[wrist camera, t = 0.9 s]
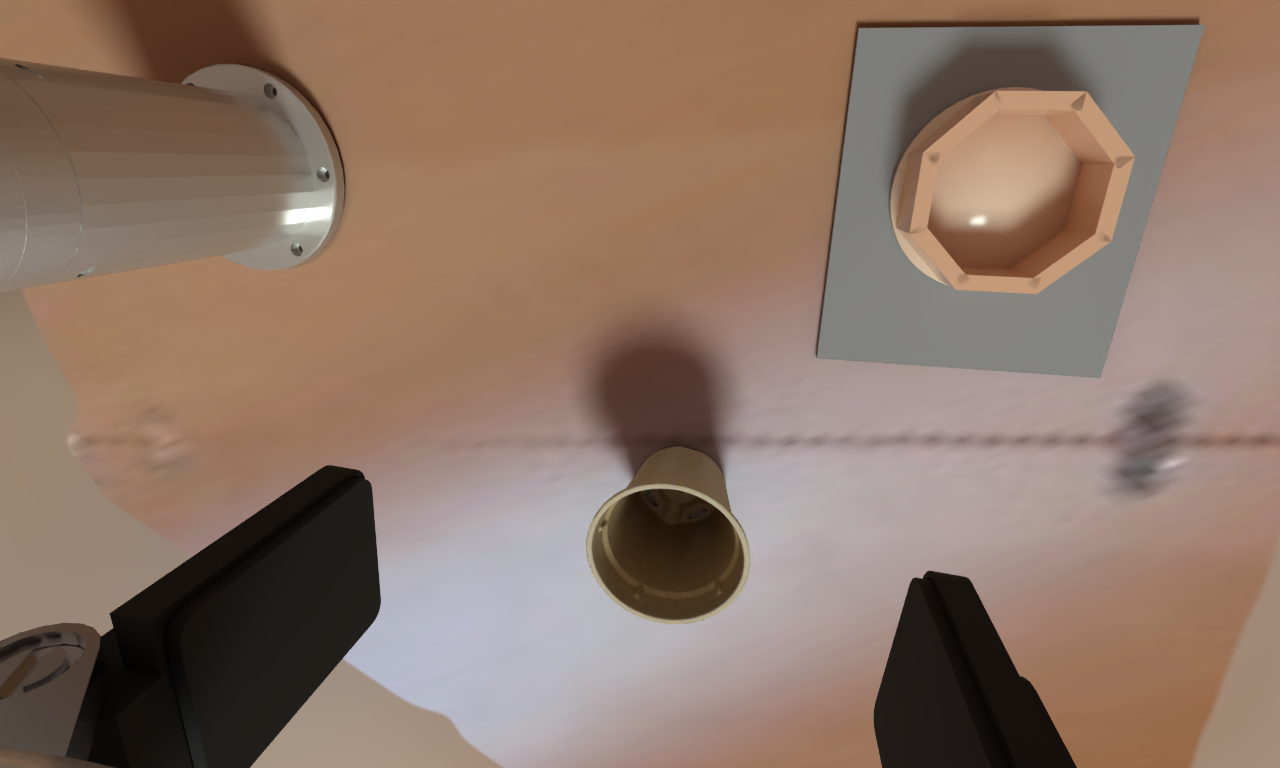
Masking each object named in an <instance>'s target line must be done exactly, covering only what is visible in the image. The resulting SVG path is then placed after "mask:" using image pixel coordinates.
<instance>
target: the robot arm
mask: <svg viewBox="0 0 1280 768" xmlns="http://www.w3.org/2000/svg"><path fill="white" fill-rule="evenodd" d="M344 191H345V188H344V178H343V169H342V165H341V161H340V157H339V153H338V150H337V147H336V145H335V143H334V140H333V138H332V136H331V133H330V131H329V129H328V128H327V126H326V125H325V123H324V121H323V120H322V118H321V117H320V115H319V113H318V112H317V111H316V110H315V108H314V107H313V106H312V105H311V104H310V103H309V101H308V100H307V99H306V98H305V97H304V96H303V95H302V94H301V93H300V92H298V91H297V90H296V89H295V88H294V87H292V86H291V85H290V84H289V83H287V82H286V81H284V80H282V79H280V78H279V77H277V76H275V75H273V74H272V73H269V72H266V71H263V70H260V69H257V68H255V67H249V66H243V65H239V64H215V65H211V66H208V67H204V68H201V69H199V70H197V71H196V72H194V73H192V74H190V75H189V76H187V77H186V78H185V79H184V80H183V81H182V82H181V83H180V84H178V83H171V82H164V81H157V80H150V79H143V78H136V77H129V76H122V75H115V74H109V73H102V72H95V71H88V70H81V69H74V68H67V67H60V66H53V65H46V64H39V63H32V62H26V61H19V60H12V59H5V58H0V292H5V291H10V290H17V289H23V288H28V287H34V286H41V285H47V284H53V283H59V282H65V281H71V280H77V279H83V278H89V277H95V276H101V275H107V274H113V273H119V272H125V271H131V270H136V269H142V268H148V267H154V266H160V265H166V264H172V263H178V262H184V261H190V260H196V259H202V258H208V257H214V256H220V255H222V256H223V257H225V258H227V259H229V260H230V261H232V262H234V263H237V264H240V265H242V266H245V267H248V268H252V269H259V270H281V269H286V268H290V267H295V266H298V265H300V264H302V263H305V262H307V261H310V260H311V259H312V258H314V257H315V256H316V255H318V254H319V253H320V252H322V250H323V249H324V248H325V247H326V246H327V244H328V243H329V242H330V241H331V239H332V237H333V235H334V233H335V231H336V229H337V227H338V225H339V222H340V218H341V215H342V211H343V205H344ZM380 604H381V596H380V584H379V571H378V558H377V546H376V533H375V520H374V508H373V495H372V486H371V483H370V482H369V481H368V480H365V477H364V475H363V473H362V472H361V471H359V470H355V469H349V468H343V467H338V466H332V465H327V466H325V467H323V468H321V469H320V470H318V471H317V472H315V473H314V474H312V475H311V476H310V477H308V478H307V479H305V480H304V481H302V482H301V483H299V484H298V485H296V486H295V487H294V488H292V489H291V490H289V491H288V492H286V493H285V494H283V495H282V496H280V497H279V498H277V499H276V500H275V501H273V502H272V503H270V504H269V505H267V506H266V507H264V508H263V509H261V510H260V511H258V512H257V513H256V514H254V515H253V516H251V517H250V518H248V519H247V520H245V521H244V522H242V523H241V524H240V525H238V526H237V527H235V528H234V529H232V530H231V531H229V532H228V533H226V534H225V535H223V536H222V537H221V538H219V539H218V540H216V541H215V542H213V543H212V544H210V545H209V546H207V547H206V548H205V549H203V550H202V551H200V552H199V553H197V554H196V555H194V556H193V557H191V558H190V559H189V560H187V561H186V562H184V563H183V564H181V565H180V566H178V567H177V568H175V569H174V570H173V571H171V572H170V573H168V574H167V575H165V576H164V577H162V578H161V579H159V580H158V581H156V582H155V583H154V584H152V585H151V586H149V587H148V588H146V589H145V590H143V591H142V592H140V593H139V594H137V595H136V596H135V597H133V598H132V599H130V600H129V601H127V602H126V603H124V604H123V605H121V606H120V607H118V608H117V609H116V610H114V611H113V612H111V613H110V616H111V620H112V624H113V627H114V628H113V629H111V630H110V631H109V632H107V633H106V634H105V635H103V636H102V637H101V636H100V635H99V633H98V632H97V631H96V630H95V629H94V628H93V627H90V626H87V625H84V624H80V623H79V624H78V623H61V624H55V625H48V626H42V627H38V628H35V629H31V630H28V631H25V632H21V633H18V634H16V635H14V636H11V637H9V638H7V639H4V640H2V641H0V768H250V767H251V766H252V764H253V763H254V762H255V761H256V760H257V758H258V757H259V756H260V755H261V754H262V752H263V751H264V750H265V749H266V748H267V747H268V746H269V744H270V743H271V742H272V741H273V740H274V738H275V737H276V736H277V735H278V734H279V733H280V731H281V730H282V729H283V728H284V727H285V726H286V724H287V723H288V722H289V721H290V720H291V718H292V717H293V716H294V715H295V714H296V713H297V711H298V710H299V709H300V708H301V707H302V705H303V704H304V703H305V702H306V701H307V700H308V698H309V697H310V696H311V695H312V694H313V692H314V691H315V690H316V689H317V688H318V687H319V686H320V684H321V683H322V682H323V681H324V680H325V678H326V677H327V676H328V675H329V674H330V673H331V671H332V670H333V669H334V668H335V666H336V665H337V664H338V663H339V662H340V661H341V660H342V659H343V657H344V656H345V655H346V654H347V653H348V651H349V650H350V649H351V648H352V647H353V646H354V644H355V643H356V642H357V641H358V640H359V639H360V637H361V636H362V635H363V634H364V633H365V631H366V630H367V629H368V628H369V627H370V626H371V624H372V623H373V622H374V620H375V619H376V617H377V615H378V612H379V609H380ZM874 729H875V734H876V739H877V744H878V749H879V754H880V758H881V763H882V768H1077V767H1076V765H1075V763H1074V761H1073V760H1072V758H1071V756H1070V754H1069V752H1068V750H1067V748H1066V746H1065V744H1064V743H1063V741H1062V739H1061V737H1060V735H1059V733H1058V731H1057V729H1056V727H1055V726H1054V724H1053V722H1052V720H1051V718H1050V716H1049V714H1048V712H1047V710H1046V709H1045V707H1044V705H1043V703H1042V701H1041V699H1040V697H1039V695H1038V693H1037V692H1036V690H1035V689H1034V687H1033V686H1032V684H1031V683H1030V681H1028V680H1027V679H1025V678H1024V677H1021V676H1019V674H1018V672H1017V670H1016V668H1015V666H1014V664H1013V662H1012V660H1011V658H1010V656H1009V655H1008V653H1007V651H1006V649H1005V647H1004V645H1003V643H1002V641H1001V639H1000V637H999V635H998V633H997V631H996V629H995V627H994V625H993V623H992V621H991V619H990V617H989V616H988V614H987V612H986V610H985V608H984V606H983V604H982V602H981V600H980V598H979V596H978V594H977V592H976V590H975V588H974V586H973V584H972V582H971V581H970V580H969V578H966V577H963V576H957V575H951V574H946V573H940V572H934V571H928V572H926V574H925V575H924V577H923V579H920V578H913V579H912V581H911V583H910V586H909V589H908V592H907V596H906V599H905V603H904V606H903V610H902V613H901V616H900V620H899V623H898V627H897V630H896V634H895V637H894V641H893V644H892V647H891V651H890V654H889V658H888V661H887V665H886V668H885V672H884V675H883V678H882V682H881V685H880V689H879V692H878V696H877V699H876V703H875V708H874Z"/></svg>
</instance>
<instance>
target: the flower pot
mask: <svg viewBox="0 0 1280 768" xmlns="http://www.w3.org/2000/svg"><path fill="white" fill-rule="evenodd" d="M678 490H679V491H678ZM647 492H650V493H652V495H653V498H654V500H655V501H656V502H657V504H658V505H657V506H655V505H654V504H653V503H651V501H650V500H649V499H648V497H647V496H646V493H647ZM702 510H706V513H705V514H704V515H703V516H700V517H698V518H691V517H690V515H693V514H696V513H698V512H700V511H702ZM586 548H587V558H588V562H589V565H590V567H591V571H592V573H593V575H594V577H595V579H596V580H597V582H598V584H599V585H600V587H601V588H602V589H603V590H604V592H605V593H606V594H607V595H608V596H609V597H610V598H611V599H612V600H613V601H614V602H616V603H617V604H618V605H620V606H621V607H622V608H623V609H625V610H626V611H629V612H631V613H633V614H634V615H637V616H639V617H641V618H644V619H646V620H650V621H654V622H659V623H665V624H688V623H693V622H697V621H702V620H705V619H706V618H709V617H711V616H713V615H715V614H717V613H719V612H721V611H722V610H724V609H725V608H726V607H727V606H729V605H730V604H731V603H732V602H733V601H734V600H735V599H736V598H737V596H738V595H739V594H740V592H741V591H742V589H743V587H744V585H745V583H746V580H747V578H748V574H749V569H750V552H749V546H748V541H747V538H746V535H745V533H744V531H743V529H742V527H741V525H740V523H739V522H738V520H737V519H736V518H735V516H734V515H733V514H732V513H731V509H730V504H729V500H728V495H727V490H726V484H725V480H724V477H723V474H722V472H721V470H720V469H719V467H718V466H717V464H716V463H715V462H714V461H713V460H712V459H711V458H710V457H708V456H707V455H706V454H704V453H702V452H698V451H695V450H692V449H689V448H685V447H681V446H677V447H669V448H665V449H662V450H660V451H657V452H656V453H654V454H653V455H651V456H650V457H649V458H648V459H647V460H646V461H645V462H644V463H643V465H642V466H641V468H640V470H639V471H638V473H637V474H636V475H635V477H634V478H633V480H632V481H631V482H630V484H629V485H628V487H627V488H626V489H624V490H622V491H620V492H618V493H617V494H615V495H614V496H612V497H611V498H610V499H609V500H608V501H606V502H605V503H604V504H603V506H602V507H601V508H600V509H599V510H598V512H597V513H596V515H595V516H594V518H593V521H592V523H591V525H590V528H589V531H588V535H587V542H586Z"/></svg>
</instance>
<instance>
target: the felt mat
mask: <svg viewBox="0 0 1280 768" xmlns="http://www.w3.org/2000/svg"><path fill="white" fill-rule="evenodd" d="M1204 26H1205V25H1129V26H1023V27H917V28H859V29H858V31H857V39H856V47H855V55H854V63H853V71H852V78H851V86H850V94H849V102H848V110H847V118H846V126H845V134H844V142H843V149H842V157H841V165H840V173H839V181H838V189H837V197H836V205H835V213H834V220H833V228H832V236H831V244H830V252H829V260H828V268H827V276H826V284H825V291H824V299H823V307H822V315H821V323H820V331H819V339H818V347H817V355H816V357H817V358H819V359H834V360H848V361H862V362H877V363H891V364H906V365H920V366H934V367H949V368H963V369H977V370H992V371H1006V372H1020V373H1035V374H1049V375H1064V376H1078V377H1092V378H1100V377H1101V374H1102V370H1103V367H1104V363H1105V360H1106V357H1107V353H1108V350H1109V347H1110V343H1111V340H1112V337H1113V333H1114V330H1115V326H1116V323H1117V320H1118V316H1119V313H1120V310H1121V306H1122V303H1123V299H1124V296H1125V293H1126V289H1127V286H1128V283H1129V279H1130V276H1131V272H1132V269H1133V266H1134V262H1135V259H1136V256H1137V252H1138V249H1139V246H1140V242H1141V239H1142V235H1143V232H1144V229H1145V225H1146V222H1147V219H1148V215H1149V212H1150V208H1151V205H1152V202H1153V198H1154V195H1155V192H1156V188H1157V185H1158V181H1159V178H1160V175H1161V171H1162V168H1163V165H1164V161H1165V158H1166V155H1167V151H1168V148H1169V144H1170V141H1171V138H1172V134H1173V131H1174V128H1175V124H1176V121H1177V117H1178V114H1179V111H1180V107H1181V104H1182V101H1183V97H1184V94H1185V91H1186V87H1187V84H1188V80H1189V77H1190V74H1191V70H1192V67H1193V64H1194V60H1195V57H1196V53H1197V50H1198V47H1199V43H1200V40H1201V37H1202V33H1203V30H1204ZM1008 87H1025V88H1034V89H1038V90H1043V91H1087V92H1088V94H1089V95H1090V96H1091V98H1092V99H1093V100H1094V102H1095V103H1096V104H1097V106H1098V107H1099V108H1100V110H1101V111H1102V112H1103V114H1104V115H1105V117H1106V118H1107V119H1108V121H1109V122H1110V123H1111V125H1112V126H1113V127H1114V129H1115V130H1116V131H1117V133H1118V134H1119V135H1120V137H1121V138H1122V139H1123V141H1124V142H1125V143H1126V145H1127V146H1128V148H1129V149H1130V150H1131V152H1132V153H1133V154H1134V156H1135V159H1134V163H1133V166H1132V170H1131V173H1130V177H1129V181H1128V184H1127V188H1126V191H1125V195H1124V198H1123V202H1122V206H1121V209H1120V213H1119V216H1118V220H1117V223H1116V227H1115V230H1114V234H1113V238H1112V241H1111V242H1110V243H1109V244H1107V245H1106V246H1104V247H1103V248H1101V249H1100V250H1099V251H1097V252H1096V253H1094V254H1093V255H1091V256H1090V257H1089V258H1087V259H1086V260H1084V261H1083V262H1082V263H1080V264H1079V265H1077V266H1076V267H1074V268H1073V269H1072V270H1070V271H1069V272H1067V273H1066V274H1064V275H1063V276H1062V277H1060V278H1059V279H1057V280H1056V281H1055V282H1053V283H1052V284H1050V285H1049V286H1047V287H1046V288H1045V289H1043V290H1042V291H1040V292H1039V293H1037V294H1027V293H1007V292H988V291H968V290H955V289H953V288H952V287H950V286H948V285H945V284H943V283H940V282H938V281H936V280H934V279H932V278H931V277H929V276H927V275H926V274H924V273H923V272H921V271H920V270H919V269H918V268H916V267H915V266H914V265H913V264H912V263H911V262H910V261H909V260H908V258H907V257H906V256H905V254H904V253H903V251H902V250H901V248H900V246H899V244H898V243H897V241H896V238H895V235H894V232H893V229H892V225H891V220H890V211H889V200H890V190H891V186H892V181H893V177H894V174H895V171H896V169H897V166H898V164H899V162H900V160H901V158H902V156H903V154H904V152H905V150H906V149H907V147H908V146H909V144H910V143H911V141H912V140H913V139H914V137H915V136H916V135H917V134H918V133H919V131H920V130H921V129H922V128H923V127H924V126H925V125H926V124H927V123H928V122H929V121H930V120H931V119H933V118H934V117H935V116H937V115H938V114H939V113H941V112H942V111H943V110H945V109H946V108H948V107H950V106H951V105H953V104H955V103H956V102H959V101H961V100H963V99H965V98H967V97H970V96H973V95H976V94H979V93H982V92H985V91H988V90H994V89H999V88H1008Z"/></svg>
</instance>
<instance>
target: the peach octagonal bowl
mask: <svg viewBox="0 0 1280 768" xmlns="http://www.w3.org/2000/svg"><path fill="white" fill-rule="evenodd" d="M1134 159H1135V156H1134V154H1133V153H1132V152H1131V150H1130V149H1129V148H1128V146H1127V145H1126V143H1125V142H1124V141H1123V139H1122V138H1121V137H1120V135H1119V134H1118V133H1117V131H1116V130H1115V129H1114V127H1113V126H1112V125H1111V123H1110V122H1109V121H1108V119H1107V118H1106V117H1105V115H1104V114H1103V112H1102V111H1101V110H1100V108H1099V107H1098V106H1097V104H1096V103H1095V102H1094V100H1093V99H1092V98H1091V96H1090V95H1089V94H1088V92H1087V91H1043V90H1038V89H1034V88H1025V87H1008V88H999V89H994V90H988V91H985V92H982V93H979V94H976V95H973V96H970V97H967V98H965V99H963V100H961V101H959V102H956V103H955V104H953V105H951V106H950V107H948V108H946V109H945V110H943V111H942V112H941V113H939V114H938V115H937V116H935V117H934V118H933V119H931V120H930V121H929V122H928V123H927V124H926V125H925V126H924V127H923V128H922V129H921V130H920V131H919V133H918V134H917V135H916V136H915V137H914V139H913V140H912V141H911V143H910V144H909V146H908V147H907V149H906V150H905V152H904V154H903V156H902V158H901V160H900V162H899V164H898V166H897V169H896V171H895V174H894V177H893V181H892V186H891V190H890V200H889V211H890V220H891V225H892V229H893V232H894V235H895V238H896V241H897V243H898V244H899V246H900V248H901V250H902V251H903V253H904V254H905V256H906V257H907V258H908V260H909V261H910V262H911V263H912V264H913V265H914V266H915V267H916V268H918V269H919V270H920V271H921V272H923V273H924V274H926V275H927V276H929V277H931V278H932V279H934V280H936V281H938V282H940V283H943V284H945V285H948V286H950V287H952V288H953V289H955V290H968V291H988V292H1007V293H1027V294H1037V293H1039V292H1040V291H1042V290H1043V289H1045V288H1046V287H1047V286H1049V285H1050V284H1052V283H1053V282H1055V281H1056V280H1057V279H1059V278H1060V277H1062V276H1063V275H1064V274H1066V273H1067V272H1069V271H1070V270H1072V269H1073V268H1074V267H1076V266H1077V265H1079V264H1080V263H1082V262H1083V261H1084V260H1086V259H1087V258H1089V257H1090V256H1091V255H1093V254H1094V253H1096V252H1097V251H1099V250H1100V249H1101V248H1103V247H1104V246H1106V245H1107V244H1109V243H1110V242H1111V241H1112V238H1113V234H1114V230H1115V227H1116V223H1117V220H1118V216H1119V213H1120V209H1121V206H1122V202H1123V198H1124V195H1125V191H1126V188H1127V184H1128V181H1129V177H1130V173H1131V170H1132V166H1133V163H1134Z"/></svg>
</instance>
